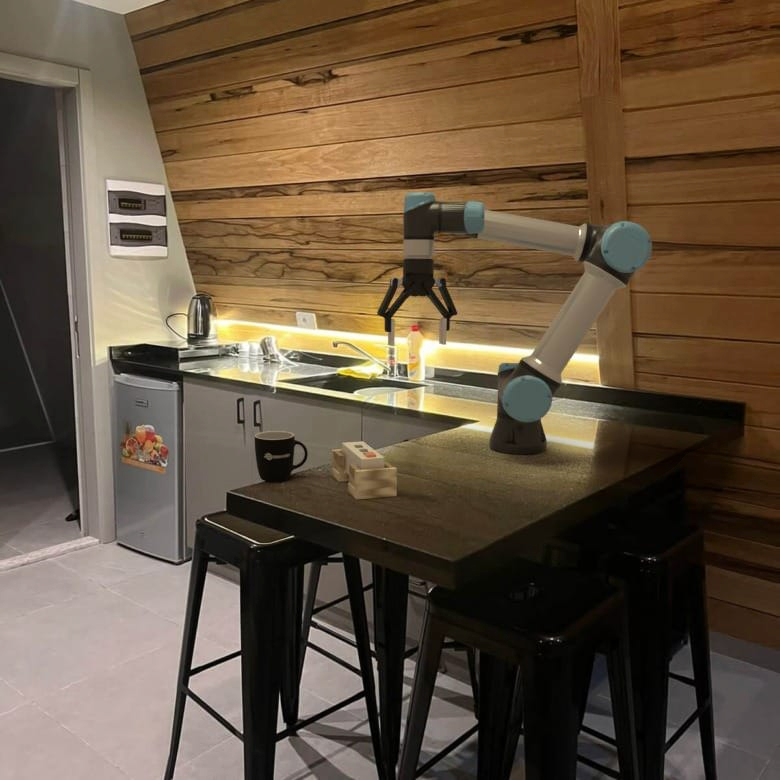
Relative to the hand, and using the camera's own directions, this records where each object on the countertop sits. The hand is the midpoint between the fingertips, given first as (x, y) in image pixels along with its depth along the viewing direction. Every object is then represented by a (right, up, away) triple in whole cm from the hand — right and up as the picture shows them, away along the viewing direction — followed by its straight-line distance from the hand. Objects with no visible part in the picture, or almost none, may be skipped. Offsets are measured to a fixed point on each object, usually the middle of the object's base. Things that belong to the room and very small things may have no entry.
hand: (417, 344), depth 197 cm
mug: (-31, -32, -15) cm, 47 cm away
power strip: (-13, -30, -21) cm, 39 cm away
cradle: (-13, -32, -20) cm, 40 cm away
